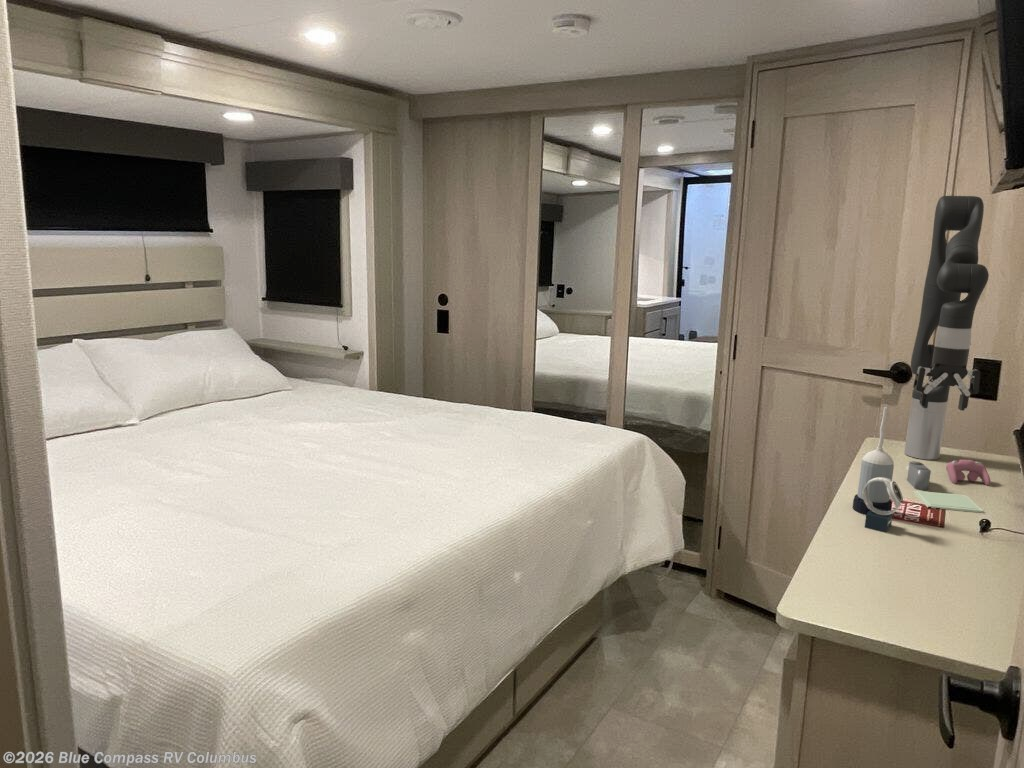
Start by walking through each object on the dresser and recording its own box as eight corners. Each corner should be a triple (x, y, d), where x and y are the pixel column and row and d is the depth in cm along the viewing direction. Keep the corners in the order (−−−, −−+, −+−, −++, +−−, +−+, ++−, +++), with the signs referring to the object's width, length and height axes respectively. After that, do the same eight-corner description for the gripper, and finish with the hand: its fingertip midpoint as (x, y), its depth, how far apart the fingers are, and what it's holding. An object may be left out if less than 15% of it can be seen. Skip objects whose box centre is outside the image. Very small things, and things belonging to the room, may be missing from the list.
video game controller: (983, 487, 197) (980, 461, 199) (992, 485, 193) (990, 458, 195) (944, 485, 198) (942, 459, 200) (953, 483, 194) (951, 456, 196)
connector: (902, 476, 200) (905, 458, 199) (915, 477, 199) (918, 459, 198) (916, 490, 189) (919, 471, 188) (929, 491, 188) (932, 472, 187)
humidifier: (875, 519, 168) (889, 412, 163) (844, 507, 175) (857, 404, 170) (898, 514, 172) (913, 409, 167) (867, 502, 179) (880, 402, 174)
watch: (895, 534, 159) (902, 486, 157) (856, 525, 164) (862, 478, 162) (901, 527, 164) (907, 480, 161) (862, 518, 168) (868, 472, 166)
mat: (913, 492, 187) (913, 490, 187) (965, 497, 184) (965, 494, 184) (927, 507, 176) (928, 505, 176) (983, 512, 174) (983, 510, 174)
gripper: (977, 344, 185) (967, 407, 188) (915, 341, 187) (907, 403, 191) (990, 349, 177) (979, 414, 181) (926, 346, 180) (917, 410, 183)
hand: (942, 408), depth 186 cm, fingers open, 8 cm apart
